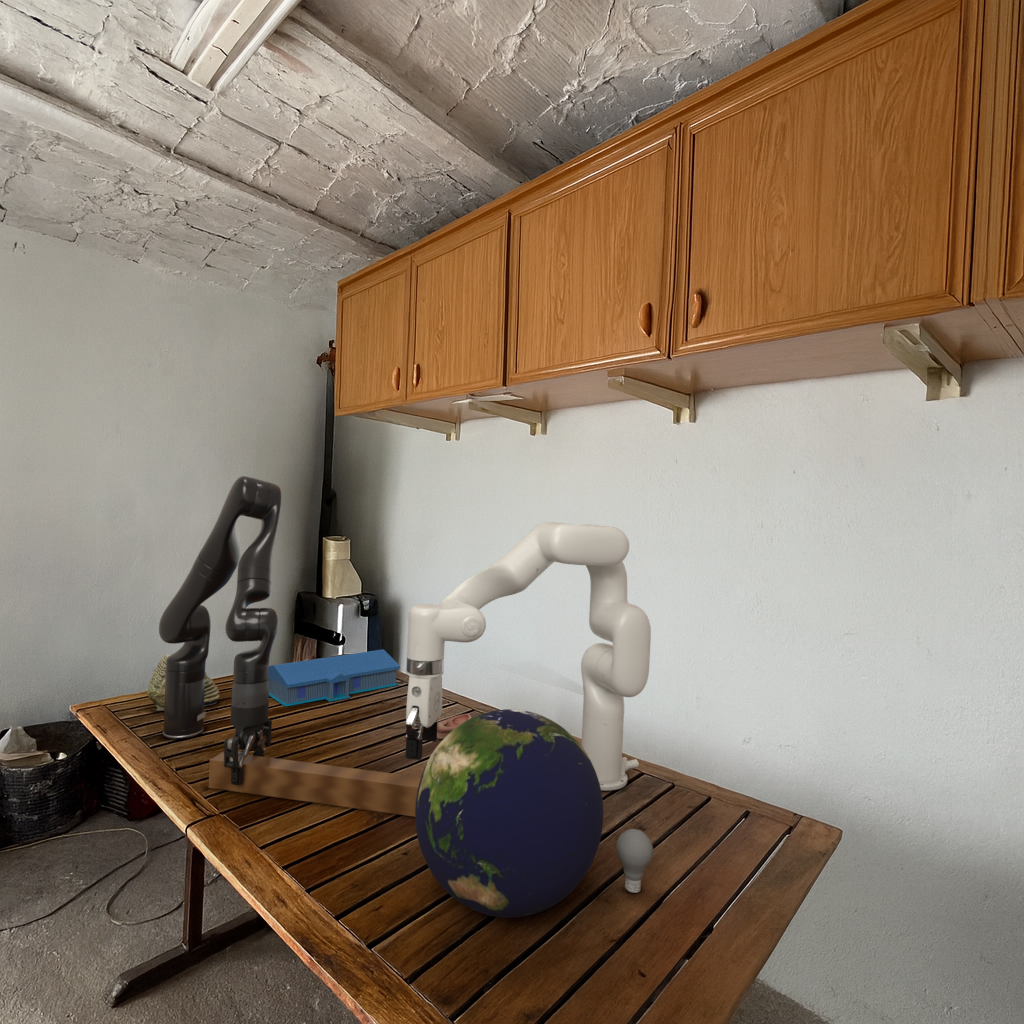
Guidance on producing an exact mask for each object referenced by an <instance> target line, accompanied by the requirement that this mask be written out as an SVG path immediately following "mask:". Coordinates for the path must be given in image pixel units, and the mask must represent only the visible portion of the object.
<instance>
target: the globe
mask: <svg viewBox="0 0 1024 1024" xmlns="http://www.w3.org/2000/svg"><path fill="white" fill-rule="evenodd" d="M420 777H421V779H420V783H419V786H418V791H417V797H416V806H415V817H414V818H415V819H414V820H415V831H416V837H417V840H418V845H419V848H420V851H421V854H422V856H423V859H424V861H425V863H426V865H427V867H428V869H429V871H430V872H431V874H432V875H433V877H434V879H435V880H436V882H437V883H438V884H439V885H440V886H441V887H442V888H443V890H444V891H446V893H447V894H448V895H450V896H451V897H452V898H453V899H454V900H456V901H457V902H459V903H460V904H461V905H462V906H464V907H466V908H469V909H471V910H472V911H475V912H477V913H479V914H482V915H487V916H490V917H495V918H501V919H502V918H504V919H516V918H524V917H529V916H533V915H536V914H538V913H539V914H540V913H542V912H543V911H545V910H548V909H550V908H552V907H554V906H555V905H557V904H558V903H561V902H562V901H563V900H564V899H565V898H567V896H568V895H570V894H571V893H572V892H573V891H574V890H575V889H576V888H577V887H578V885H579V884H580V883H581V882H582V881H583V879H584V878H585V877H586V875H587V873H588V871H589V869H590V868H591V866H592V864H593V862H594V860H595V858H596V855H597V853H598V851H599V847H600V843H601V839H602V834H603V827H604V799H603V793H602V790H601V788H600V783H599V780H598V777H597V774H596V771H595V769H594V767H593V764H592V762H591V760H590V758H589V757H588V755H587V753H586V752H585V750H584V748H583V747H582V746H581V743H580V742H579V741H578V739H576V738H575V737H574V735H572V733H570V732H569V731H568V730H567V729H565V728H564V727H563V726H561V725H560V724H559V723H557V722H555V721H553V720H552V719H550V718H548V717H547V716H544V715H542V714H539V713H536V712H531V711H528V710H524V709H521V708H520V709H519V708H511V709H507V708H506V709H497V710H496V709H495V710H491V711H487V712H483V713H480V714H477V715H475V716H474V717H471V719H469V720H467V721H465V722H464V723H462V724H461V725H459V726H458V727H456V728H455V729H454V730H453V731H451V732H450V733H449V734H448V735H447V736H446V737H445V738H444V739H441V741H440V742H439V743H438V744H437V746H436V747H435V749H434V750H433V751H432V753H431V754H430V756H429V759H428V760H427V762H426V763H425V767H424V769H423V772H422V773H421V776H420Z"/></svg>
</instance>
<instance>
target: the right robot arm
mask: <svg viewBox="0 0 1024 1024" xmlns="http://www.w3.org/2000/svg"><path fill="white" fill-rule="evenodd" d="M629 552H630V541H629V538H628V536H627V534H626V533H625V532H624V531H623V530H621V529H620V528H618V527H615V526H607V525H600V524H599V525H598V524H590V523H588V524H587V523H585V524H572V523H566V522H565V523H563V522H554V521H545V522H541V523H539V524H537V525H536V526H534V527H533V528H532V529H531V530H529V532H528V533H527V534H525V535H524V536H523V537H522V538H521V539H520V540H519V541H518V542H517V543H516V544H514V545H513V546H512V547H511V549H509V550H508V551H507V552H506V553H505V554H504V555H502V557H500V558H499V559H498V560H497V561H496V562H493V563H492V564H490V565H488V566H487V567H485V568H483V569H481V570H480V571H478V572H477V573H475V574H473V575H471V576H470V577H468V578H467V579H465V580H464V581H463V582H461V583H460V584H459V585H458V586H457V587H456V588H454V589H453V590H452V591H451V592H450V593H449V594H448V595H447V596H445V598H444V599H443V600H442V601H441V602H440V603H439V605H438V604H433V603H431V604H430V603H421V604H416V605H412V606H411V607H410V608H409V611H408V617H407V619H408V621H407V645H406V649H407V650H406V667H405V668H406V669H405V671H406V672H405V673H406V675H407V676H409V678H408V685H407V693H406V704H405V705H406V707H405V759H407V760H415V761H421V760H422V758H423V741H424V742H425V741H426V742H432V743H433V742H434V743H436V742H437V740H438V738H437V724H438V722H439V718H440V717H441V715H442V714H443V674H444V670H445V667H444V666H445V647H446V646H445V642H456V643H472V642H475V641H477V640H478V639H480V638H481V637H482V636H483V635H484V633H485V631H486V628H487V621H486V617H485V616H484V614H483V612H482V611H481V609H482V608H484V607H485V606H486V605H488V604H490V603H491V602H493V601H496V600H498V599H501V598H504V597H508V596H513V595H516V594H519V593H521V592H523V591H525V590H526V589H527V588H528V587H529V586H531V584H532V583H533V582H535V581H536V579H537V578H539V577H540V576H541V575H542V574H543V573H544V572H545V571H546V570H547V569H549V567H550V566H552V564H554V563H559V564H564V565H573V566H576V565H577V566H585V567H586V569H587V571H588V573H589V580H590V594H589V612H588V614H589V615H588V617H589V618H588V622H589V628H590V631H591V632H592V633H593V634H594V635H595V636H597V637H598V638H600V639H602V640H605V641H608V642H610V643H612V644H609V643H604V642H598V643H594V644H592V645H590V646H589V647H587V649H586V650H585V651H584V653H583V654H582V657H581V663H580V671H581V679H582V690H583V700H582V701H583V703H582V724H581V743H580V745H581V746H582V747H583V748H584V750H585V752H586V753H587V755H588V757H589V758H590V760H591V762H592V764H593V767H594V769H595V771H596V774H597V777H598V780H599V783H600V788H601V791H606V792H607V791H616V790H620V789H622V788H624V787H626V786H627V784H628V781H629V780H628V779H629V777H628V774H627V773H626V772H627V771H629V770H630V769H631V770H632V769H637V768H639V766H640V765H639V761H638V759H636V758H635V759H629V760H628V758H627V757H626V756H624V757H623V745H624V744H623V743H624V742H623V741H624V724H625V723H624V722H625V699H624V698H633V697H636V696H638V695H640V694H641V693H642V692H643V691H644V689H645V687H646V685H647V684H648V679H649V673H650V661H651V641H652V627H651V623H650V622H651V621H650V620H649V617H648V614H647V613H646V612H645V611H644V609H642V608H641V607H639V606H638V605H636V604H632V603H629V602H628V575H627V573H628V572H627V569H626V566H625V564H624V562H623V561H624V560H625V559H626V558H627V556H628V554H629ZM417 729H418V730H417Z"/></svg>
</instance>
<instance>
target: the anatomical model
mask: <svg viewBox="0 0 1024 1024" xmlns="http://www.w3.org/2000/svg"><path fill="white" fill-rule="evenodd" d="M471 718H472V716H471V714H470V713H463V714H459V715H454V716H452V717H449V718H446V719H444V720H441V721H437V722H438V724H437V740H439V739H441V740H443V739H444V738H445V737H446V736H447V735H448V734H449V733H450V732H451V731H453V730H454V729H455V728H456V727H458V726H459V725H461V724H462V723H464V722H465V721H467V720H469V719H471Z"/></svg>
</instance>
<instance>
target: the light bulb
mask: <svg viewBox="0 0 1024 1024" xmlns="http://www.w3.org/2000/svg"><path fill="white" fill-rule="evenodd" d="M615 849H616V854H617V857H618V859H619V861H620V863H621V865H622V867H623V873H624V874H623V875H624V876H625V878H624V888H625V890H627V891H628V892H630V893H634V894H635V893H639V892H640V891H641V889H642V887H641V886H642V879H643V877H644V875H645V871H646V868H647V867H648V866H649V864H650V863H651V861H652V859H653V855H654V847H653V843H652V841H651V838H649V836H648V835H647V834H646V833H645V832H643V831H642V830H641V829H636V828H629V829H627V830H625V831H623V832H622V833H621V834H620V835H619V837H618V839H617V841H616V847H615Z"/></svg>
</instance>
